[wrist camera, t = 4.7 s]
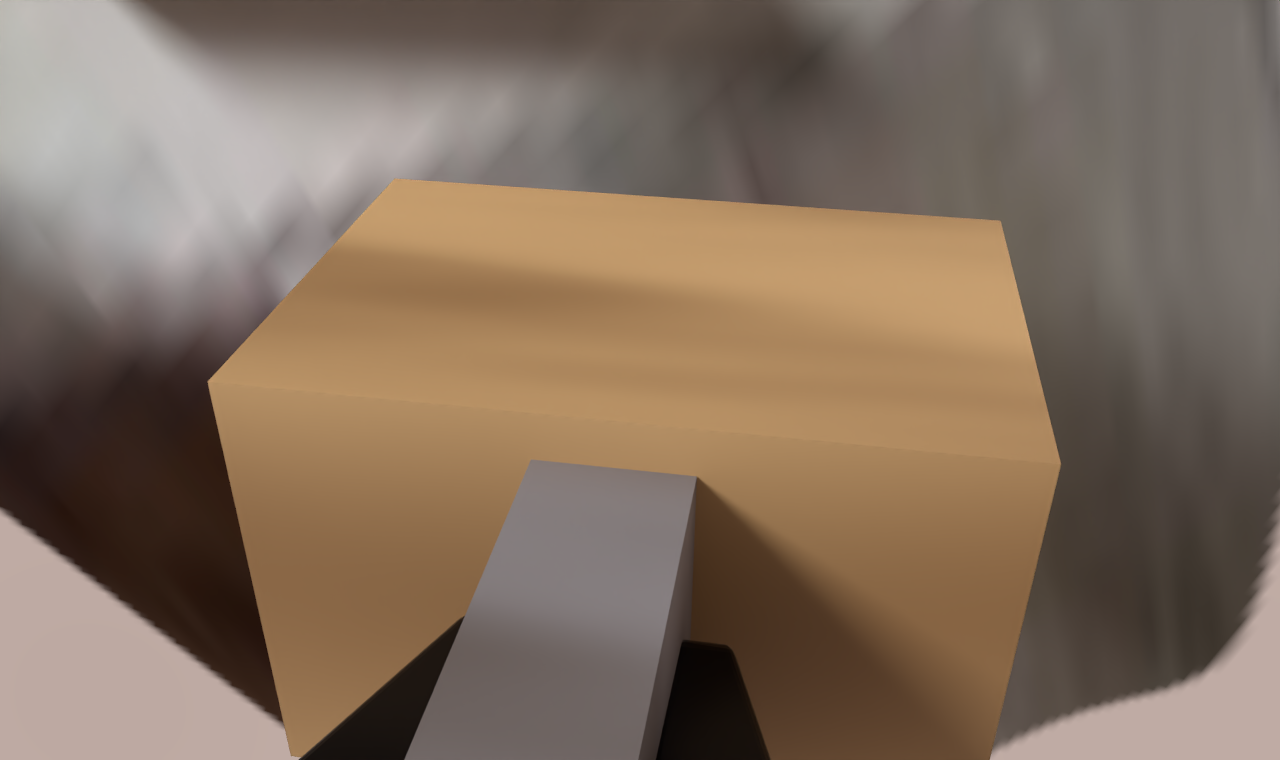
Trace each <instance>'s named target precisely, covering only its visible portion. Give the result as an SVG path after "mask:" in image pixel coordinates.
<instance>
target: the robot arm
mask: <svg viewBox="0 0 1280 760" xmlns="http://www.w3.org/2000/svg"><path fill="white" fill-rule="evenodd" d="M464 617H465V616H463V617H461V618H460V619H459V620H457V621H456V622H455V623H454V624H453V625H452V626H450V627H449V628H448V629H447V630H446V631H445V632H444V633H442V634H441V635H440V636H439V637H438V638H437V639H436V640H434V641H433V642H432V643H431V644H430V645H429V646H428V647H426V648H425V649H424V650H423V651H422V652H421V653H420V654H419V655H417V656H416V657H415V658H414V659H413V660H412V661H411V662H409V663H408V664H407V665H406V666H405V667H404V668H403V669H401V670H400V671H399V672H398V673H397V674H396V675H395V676H393V677H392V678H391V679H390V680H389V681H388V682H387V683H385V684H384V685H383V686H382V687H381V688H380V689H379V690H377V691H376V692H375V693H374V694H373V695H372V696H371V697H369V698H368V699H367V700H366V701H365V702H364V703H363V704H362V705H360V706H359V707H358V708H357V709H356V710H355V711H354V712H352V713H351V714H350V715H349V716H348V717H347V718H346V719H344V720H343V721H342V722H341V723H340V724H339V725H338V726H336V727H335V728H334V729H333V730H332V731H331V732H330V733H328V734H327V735H326V736H325V737H324V738H323V739H322V740H320V741H319V742H318V743H317V744H316V745H315V746H314V747H312V748H311V749H310V750H309V751H308V752H307V753H306V754H305V755H303V756H302V757H301V758H300V759H299V760H404V759H405V757H406V755H407V752H408V750H409V747H410V745H411V743H412V740H413V738H414V736H415V733H416V731H417V729H418V726H419V724H420V721H421V719H422V717H423V714H424V712H425V710H426V707H427V705H428V702H429V700H430V698H431V695H432V693H433V691H434V688H435V686H436V683H437V681H438V679H439V676H440V674H441V672H442V669H443V667H444V664H445V662H446V660H447V657H448V655H449V653H450V650H451V648H452V645H453V643H454V641H455V638H456V636H457V634H458V631H459V629H460V626H461V624H462V622H463V619H464ZM656 760H771V759H770V756H769V753H768V750H767V747H766V744H765V741H764V738H763V735H762V732H761V729H760V726H759V723H758V720H757V718H756V715H755V712H754V709H753V706H752V703H751V700H750V697H749V694H748V691H747V688H746V685H745V682H744V679H743V676H742V673H741V670H740V667H739V665H738V662H737V659H736V656H735V654H734V652H733V650H732V649H731V648H730V647H729V646H728V645H724V644H717V643H709V642H701V641H693V640H683V641H682V644H681V648H680V652H679V657H678V661H677V666H676V670H675V675H674V679H673V684H672V688H671V693H670V697H669V702H668V706H667V711H666V716H665V720H664V725H663V729H662V734H661V738H660V743H659V747H658V752H657V756H656Z"/></svg>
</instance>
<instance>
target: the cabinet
mask: <svg viewBox="0 0 1280 760" xmlns="http://www.w3.org/2000/svg"><path fill="white" fill-rule="evenodd" d="M208 386H209V391H210V395H211V400H212V404H213V408H214V413H215V417H216V422H217V426H218V431H219V435H220V440H221V444H222V449H223V453H224V458H225V462H226V467H227V471H228V476H229V480H230V485H231V489H232V494H233V498H234V503H235V507H236V512H237V516H238V520H239V525H240V529H241V534H242V538H243V543H244V547H245V552H246V556H247V561H248V565H249V570H250V574H251V579H252V583H253V588H254V592H255V597H256V601H257V606H258V610H259V615H260V619H261V623H262V628H263V632H264V637H265V641H266V646H267V650H268V655H269V659H270V664H271V668H272V673H273V677H274V682H275V686H276V691H277V695H278V700H279V704H280V709H281V713H282V718H283V722H284V727H285V731H286V735H287V740H288V744H289V749H290V753H291V756H295V757H302V756H303V755H305V754H306V753H307V752H308V751H309V750H310V749H311V748H312V747H314V746H315V745H316V744H317V743H318V742H319V741H320V740H322V739H323V738H324V737H325V736H326V735H327V734H328V733H330V732H331V731H332V730H333V729H334V728H335V727H336V726H338V725H339V724H340V723H341V722H342V721H343V720H344V719H346V718H347V717H348V716H349V715H350V714H351V713H352V712H354V711H355V710H356V709H357V708H358V707H359V706H360V705H362V704H363V703H364V702H365V701H366V700H367V699H368V698H369V697H371V696H372V695H373V694H374V693H375V692H376V691H377V690H379V689H380V688H381V687H382V686H383V685H384V684H385V683H387V682H388V681H389V680H390V679H391V678H392V677H393V676H395V675H396V674H397V673H398V672H399V671H400V670H401V669H403V668H404V667H405V666H406V665H407V664H408V663H409V662H411V661H412V660H413V659H414V658H415V657H416V656H417V655H419V654H420V653H421V652H422V651H423V650H424V649H425V648H426V647H428V646H429V645H430V644H431V643H432V642H433V641H434V640H436V639H437V638H438V637H439V636H440V635H441V634H442V633H444V632H445V631H446V630H447V629H448V628H449V627H450V626H452V625H453V624H454V623H455V622H456V621H457V620H459V619H460V618H461V617H463V616H465V617H464V619H463V622H462V624H461V626H460V629H459V631H458V634H457V636H456V638H455V641H454V643H453V645H452V648H451V650H450V653H449V655H448V657H447V660H446V662H445V664H444V667H443V669H442V672H441V674H440V676H439V679H438V681H437V683H436V686H435V688H434V691H433V693H432V695H431V698H430V700H429V702H428V705H427V707H426V710H425V712H424V714H423V717H422V719H421V721H420V724H419V726H418V729H417V731H416V733H415V736H414V738H413V740H412V743H411V745H410V747H409V750H408V752H407V755H406V757H405V759H404V760H656V756H657V752H658V747H659V743H660V738H661V734H662V729H663V725H664V720H665V716H666V711H667V706H668V702H669V697H670V693H671V688H672V684H673V679H674V675H675V670H676V666H677V661H678V657H679V652H680V648H681V644H682V641H683V640H693V641H701V642H709V643H717V644H724V645H728V646H729V647H730V648H731V649H732V650H733V652H734V654H735V656H736V659H737V662H738V665H739V667H740V670H741V673H742V676H743V679H744V682H745V685H746V688H747V691H748V694H749V697H750V700H751V703H752V706H753V709H754V712H755V715H756V718H757V720H758V723H759V726H760V729H761V732H762V735H763V738H764V741H765V744H766V747H767V750H768V753H769V756H770V759H771V760H990V756H991V751H992V747H993V743H994V739H995V735H996V731H997V727H998V723H999V718H1000V714H1001V710H1002V706H1003V702H1004V698H1005V694H1006V690H1007V685H1008V681H1009V677H1010V673H1011V669H1012V665H1013V661H1014V657H1015V652H1016V648H1017V644H1018V640H1019V636H1020V632H1021V628H1022V624H1023V619H1024V615H1025V611H1026V607H1027V603H1028V599H1029V595H1030V590H1031V586H1032V582H1033V578H1034V574H1035V570H1036V566H1037V562H1038V557H1039V553H1040V549H1041V545H1042V541H1043V537H1044V533H1045V529H1046V524H1047V520H1048V516H1049V512H1050V508H1051V504H1052V500H1053V496H1054V491H1055V487H1056V483H1057V479H1058V475H1059V471H1060V467H1061V462H1060V458H1059V454H1058V450H1057V446H1056V442H1055V438H1054V434H1053V430H1052V426H1051V422H1050V418H1049V414H1048V410H1047V406H1046V402H1045V398H1044V394H1043V390H1042V386H1041V382H1040V378H1039V374H1038V370H1037V366H1036V362H1035V358H1034V354H1033V350H1032V346H1031V342H1030V337H1029V333H1028V329H1027V325H1026V321H1025V317H1024V313H1023V309H1022V305H1021V301H1020V297H1019V293H1018V289H1017V285H1016V281H1015V277H1014V273H1013V269H1012V265H1011V261H1010V257H1009V253H1008V249H1007V245H1006V241H1005V237H1004V233H1003V229H1002V225H1001V221H995V220H981V219H967V218H952V217H938V216H924V215H909V214H895V213H881V212H866V211H852V210H838V209H823V208H809V207H795V206H780V205H766V204H752V203H737V202H723V201H709V200H694V199H680V198H666V197H651V196H637V195H623V194H608V193H594V192H580V191H565V190H551V189H537V188H522V187H508V186H493V185H479V184H465V183H450V182H436V181H422V180H407V179H394V180H393V181H392V182H391V183H390V184H389V185H388V187H387V188H386V189H385V190H384V191H383V192H382V193H381V194H380V195H379V196H378V197H377V198H376V200H375V201H374V202H373V203H372V204H371V205H370V206H369V207H368V208H367V209H366V210H365V211H364V213H363V214H362V215H361V216H360V217H359V218H358V219H357V220H356V221H355V222H354V223H353V224H352V226H351V227H350V228H349V229H348V230H347V231H346V232H345V233H344V234H343V235H342V236H341V238H340V239H339V240H338V241H337V242H336V243H335V244H334V245H333V246H332V247H331V248H330V249H329V251H328V252H327V253H326V254H325V255H324V256H323V257H322V258H321V259H320V260H319V261H318V262H317V264H316V265H315V266H314V267H313V268H312V269H311V270H310V271H309V272H308V273H307V274H306V275H305V277H304V278H303V279H302V280H301V281H300V282H299V283H298V284H297V285H296V286H295V287H294V289H293V290H292V291H291V292H290V293H289V294H288V295H287V296H286V297H285V298H284V299H283V300H282V302H281V303H280V304H279V305H278V306H277V307H276V308H275V309H274V310H273V311H272V312H271V313H270V315H269V316H268V317H267V318H266V319H265V320H264V321H263V322H262V323H261V324H260V325H259V326H258V328H257V329H256V330H255V331H254V332H253V333H252V334H251V335H250V336H249V337H248V338H247V340H246V341H245V342H244V343H243V344H242V345H241V346H240V347H239V348H238V349H237V350H236V351H235V353H234V354H233V355H232V356H231V357H230V358H229V359H228V360H227V361H226V362H225V363H224V364H223V366H222V367H221V368H220V369H219V370H218V371H217V372H216V373H215V374H214V375H213V376H212V377H211V379H210V380H209V381H208Z"/></svg>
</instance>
